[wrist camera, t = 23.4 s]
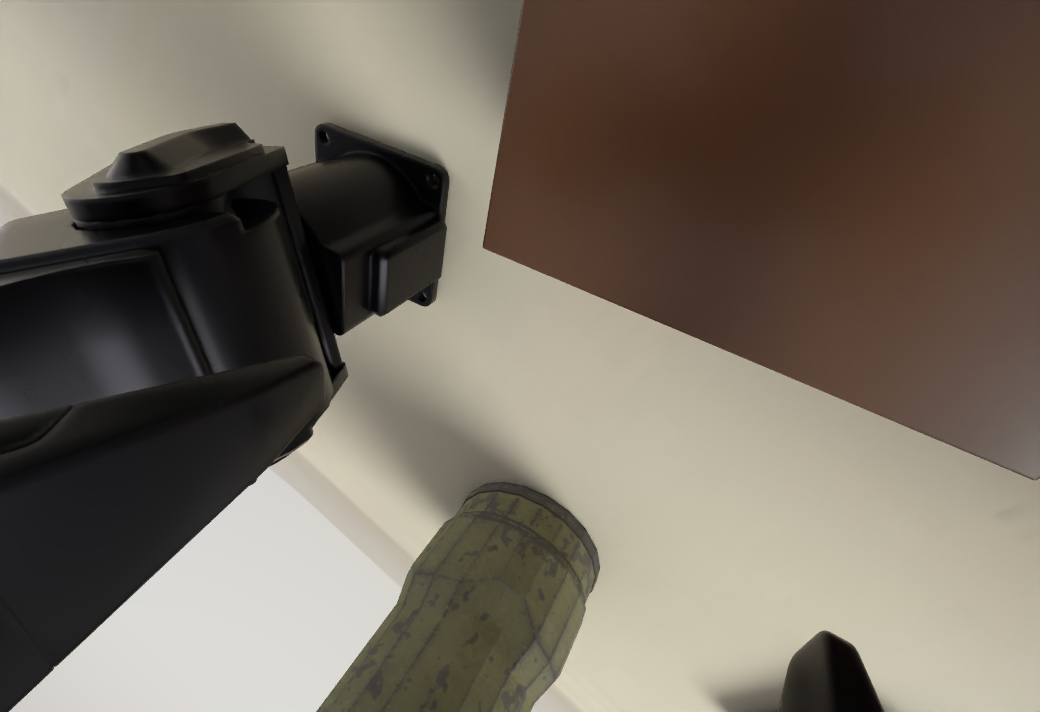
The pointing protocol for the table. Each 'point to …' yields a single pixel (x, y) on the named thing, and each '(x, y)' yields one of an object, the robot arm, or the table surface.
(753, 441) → the table surface
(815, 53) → the cabinet
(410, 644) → the thermos
